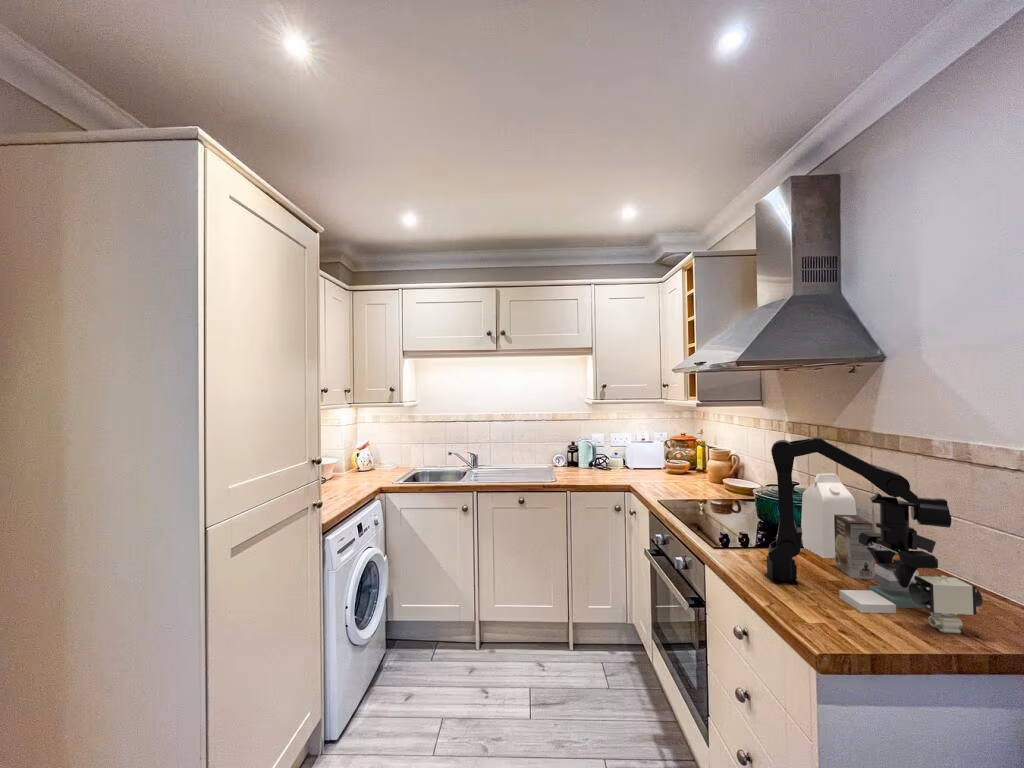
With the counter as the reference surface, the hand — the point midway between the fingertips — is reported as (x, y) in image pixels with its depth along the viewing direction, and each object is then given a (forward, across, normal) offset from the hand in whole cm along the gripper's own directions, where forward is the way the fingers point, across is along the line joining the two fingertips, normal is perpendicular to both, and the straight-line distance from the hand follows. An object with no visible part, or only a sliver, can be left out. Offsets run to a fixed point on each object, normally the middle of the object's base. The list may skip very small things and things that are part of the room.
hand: (896, 582), depth 115 cm
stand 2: (+4, 0, 0) cm, 4 cm away
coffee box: (+5, +18, -2) cm, 19 cm away
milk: (+5, +36, -6) cm, 37 cm away
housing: (+1, 0, 0) cm, 1 cm away
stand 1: (+4, -3, +9) cm, 11 cm away
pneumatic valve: (+5, -14, 0) cm, 15 cm away
